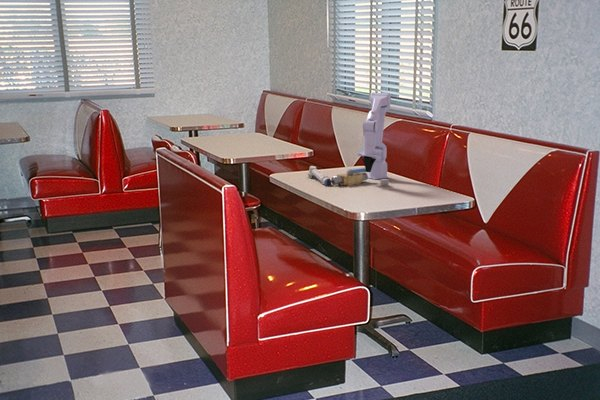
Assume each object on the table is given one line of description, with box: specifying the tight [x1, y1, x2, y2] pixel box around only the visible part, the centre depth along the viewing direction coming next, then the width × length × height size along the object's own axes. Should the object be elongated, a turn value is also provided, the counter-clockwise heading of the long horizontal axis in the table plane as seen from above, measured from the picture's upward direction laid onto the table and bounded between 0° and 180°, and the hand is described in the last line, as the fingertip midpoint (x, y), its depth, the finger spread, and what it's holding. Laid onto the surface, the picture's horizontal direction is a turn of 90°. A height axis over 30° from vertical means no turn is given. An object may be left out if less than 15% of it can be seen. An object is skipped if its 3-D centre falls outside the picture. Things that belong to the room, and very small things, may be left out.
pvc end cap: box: [379, 178, 390, 187], centre depth 365 cm, size 4×4×3 cm
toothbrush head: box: [306, 165, 332, 187], centre depth 373 cm, size 5×7×25 cm
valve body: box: [330, 172, 369, 186], centre depth 368 cm, size 21×7×5 cm, turn 129°
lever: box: [346, 167, 367, 175], centre depth 370 cm, size 3×14×2 cm, turn 125°
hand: (368, 171), depth 368 cm, fingers closed
